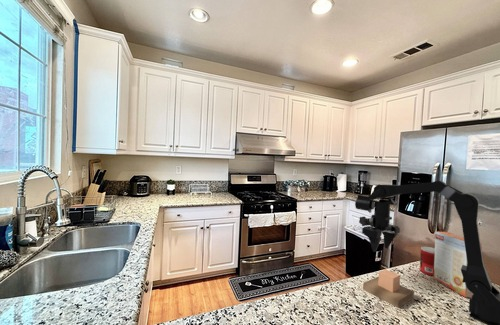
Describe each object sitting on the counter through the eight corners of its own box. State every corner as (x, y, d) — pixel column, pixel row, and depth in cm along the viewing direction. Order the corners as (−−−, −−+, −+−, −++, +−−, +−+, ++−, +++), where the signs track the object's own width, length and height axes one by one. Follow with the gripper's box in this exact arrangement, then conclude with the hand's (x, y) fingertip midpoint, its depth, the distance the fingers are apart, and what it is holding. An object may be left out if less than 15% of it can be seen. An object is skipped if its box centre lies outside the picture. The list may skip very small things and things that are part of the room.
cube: (399, 288, 78) (400, 275, 78) (392, 292, 75) (393, 278, 75) (385, 282, 82) (385, 269, 82) (378, 285, 80) (378, 272, 80)
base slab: (413, 299, 77) (414, 291, 77) (398, 309, 70) (398, 300, 70) (379, 283, 87) (379, 275, 87) (362, 290, 81) (363, 282, 81)
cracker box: (481, 299, 78) (483, 243, 79) (464, 298, 78) (466, 242, 79) (446, 279, 92) (448, 231, 93) (432, 278, 92) (434, 230, 93)
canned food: (447, 279, 92) (447, 254, 93) (426, 276, 94) (427, 251, 94) (435, 270, 100) (436, 247, 100) (416, 268, 102) (417, 245, 102)
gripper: (375, 208, 102) (373, 240, 102) (351, 210, 93) (349, 246, 93) (400, 213, 93) (399, 249, 92) (377, 216, 83) (375, 256, 83)
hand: (380, 249), depth 90 cm, fingers open, 9 cm apart
